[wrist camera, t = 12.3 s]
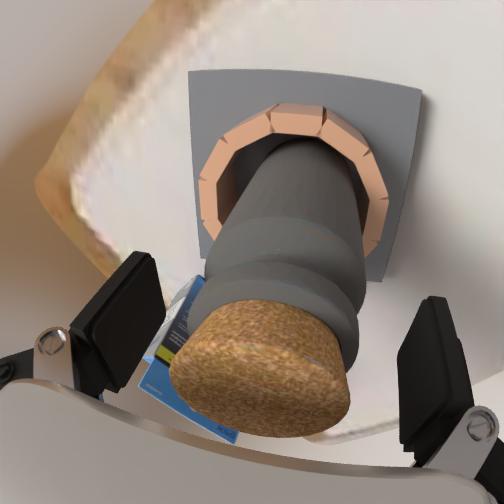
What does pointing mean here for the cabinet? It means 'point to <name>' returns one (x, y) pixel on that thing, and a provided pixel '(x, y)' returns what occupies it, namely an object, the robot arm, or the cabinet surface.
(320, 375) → the bottle
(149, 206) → the cabinet surface
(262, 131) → the holder
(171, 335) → the label tape box
